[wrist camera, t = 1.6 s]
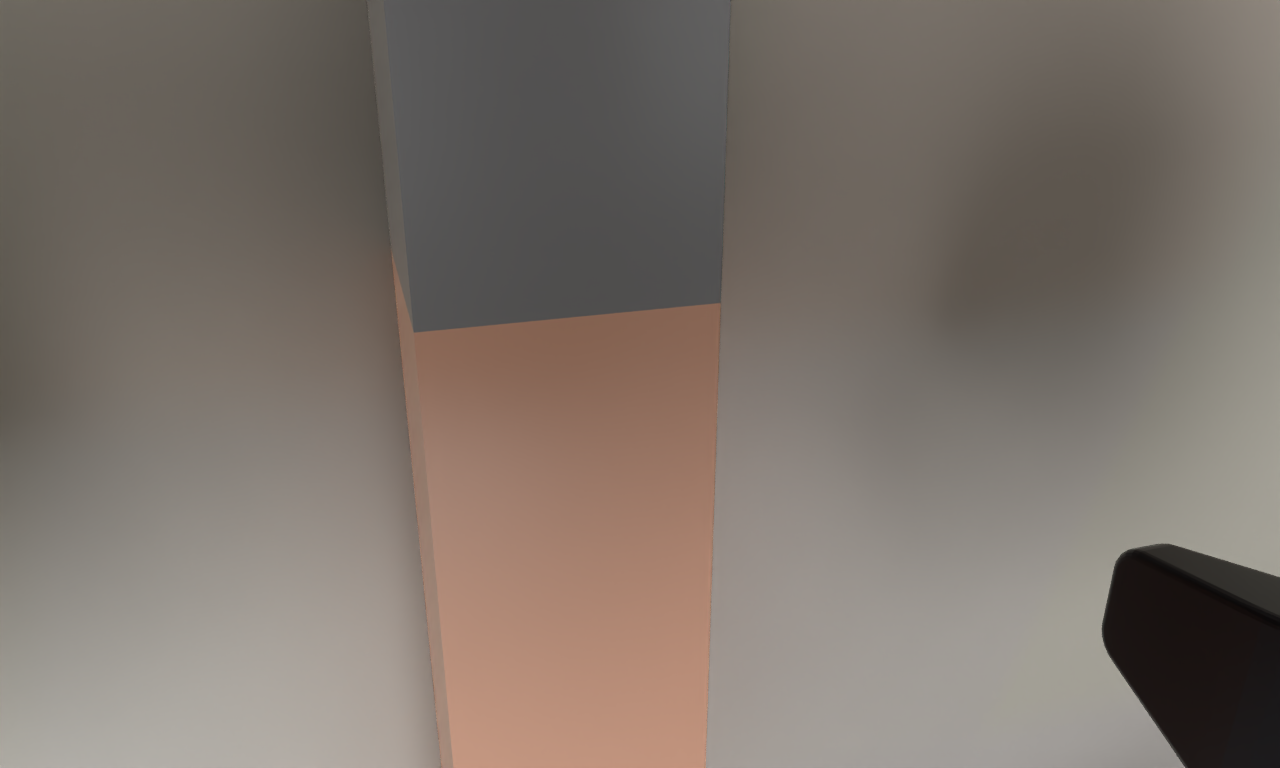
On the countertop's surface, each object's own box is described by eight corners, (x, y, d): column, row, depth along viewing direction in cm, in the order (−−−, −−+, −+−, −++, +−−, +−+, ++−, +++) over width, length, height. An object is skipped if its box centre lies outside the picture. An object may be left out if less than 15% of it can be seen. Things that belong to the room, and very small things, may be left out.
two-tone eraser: (636, 810, 14) (698, 973, 12) (449, 853, 13) (477, 1035, 11) (635, -90, 10) (733, -96, 7) (357, -91, 9) (375, -101, 7)
